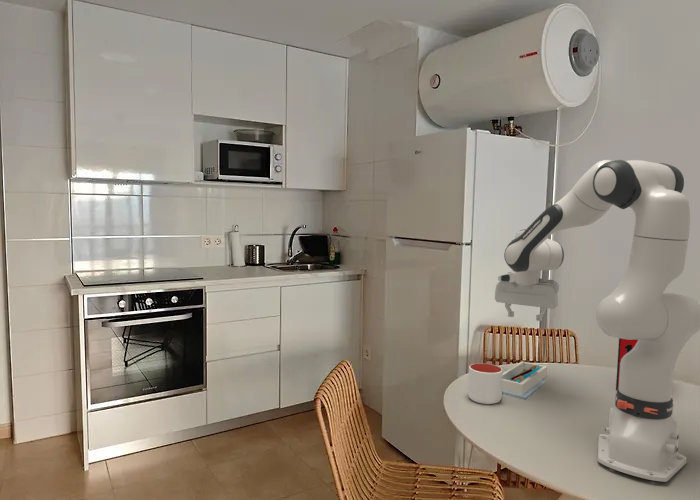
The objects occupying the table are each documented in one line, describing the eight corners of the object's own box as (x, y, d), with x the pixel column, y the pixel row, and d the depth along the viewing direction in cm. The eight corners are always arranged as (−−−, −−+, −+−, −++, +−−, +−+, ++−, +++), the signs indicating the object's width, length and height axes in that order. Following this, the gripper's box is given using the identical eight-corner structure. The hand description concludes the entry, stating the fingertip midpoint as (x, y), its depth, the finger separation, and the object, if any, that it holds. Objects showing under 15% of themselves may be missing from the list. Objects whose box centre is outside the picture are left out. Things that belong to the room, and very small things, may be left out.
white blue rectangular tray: (525, 400, 152) (526, 386, 152) (488, 391, 160) (488, 377, 159) (551, 379, 173) (552, 366, 173) (518, 371, 181) (518, 359, 180)
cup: (467, 403, 149) (469, 371, 148) (467, 392, 158) (469, 361, 158) (502, 407, 146) (503, 374, 146) (500, 395, 156) (501, 364, 155)
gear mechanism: (502, 391, 160) (526, 381, 155) (493, 376, 162) (516, 365, 156) (526, 374, 175) (548, 363, 170) (518, 360, 177) (539, 349, 171)
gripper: (561, 279, 160) (559, 321, 161) (500, 274, 173) (499, 313, 173) (555, 281, 155) (554, 324, 156) (493, 275, 168) (492, 315, 168)
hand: (524, 318), depth 165 cm, fingers open, 8 cm apart
